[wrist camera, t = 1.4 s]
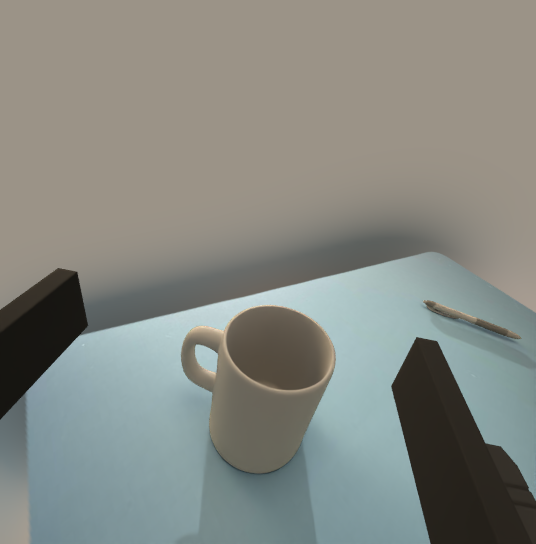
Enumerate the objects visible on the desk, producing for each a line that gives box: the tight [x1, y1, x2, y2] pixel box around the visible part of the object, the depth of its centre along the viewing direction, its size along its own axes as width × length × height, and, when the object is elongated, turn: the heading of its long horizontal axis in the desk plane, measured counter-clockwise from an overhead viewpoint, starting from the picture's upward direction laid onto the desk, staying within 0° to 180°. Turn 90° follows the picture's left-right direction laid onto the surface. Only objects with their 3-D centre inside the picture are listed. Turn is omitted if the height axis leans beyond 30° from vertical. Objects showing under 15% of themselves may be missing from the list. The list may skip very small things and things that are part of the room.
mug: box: [181, 305, 336, 474], centre depth 27 cm, size 12×8×11 cm
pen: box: [423, 300, 521, 339], centre depth 48 cm, size 1×14×1 cm, turn 66°
